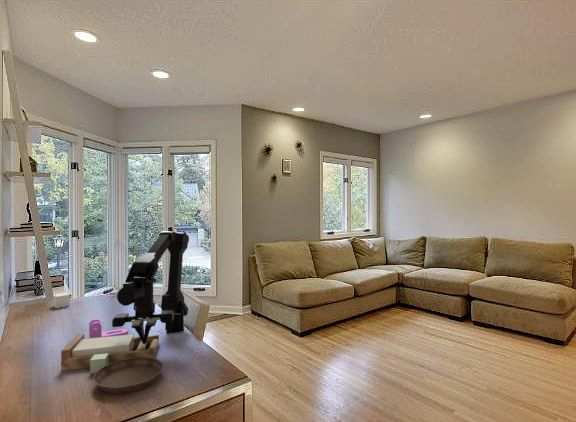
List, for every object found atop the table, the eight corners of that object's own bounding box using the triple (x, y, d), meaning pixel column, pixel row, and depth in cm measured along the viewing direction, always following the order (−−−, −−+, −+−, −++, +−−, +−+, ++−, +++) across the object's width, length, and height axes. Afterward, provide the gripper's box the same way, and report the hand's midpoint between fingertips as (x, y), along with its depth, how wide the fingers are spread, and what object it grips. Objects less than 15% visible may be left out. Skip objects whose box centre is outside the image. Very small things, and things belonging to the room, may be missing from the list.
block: (108, 366, 103) (108, 353, 103) (105, 372, 99) (105, 358, 99) (94, 367, 102) (94, 354, 102) (90, 373, 98) (90, 360, 98)
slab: (133, 341, 117) (133, 334, 117) (128, 352, 107) (128, 344, 107) (82, 346, 112) (82, 339, 112) (72, 358, 103) (72, 350, 103)
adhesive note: (52, 306, 171) (52, 294, 171) (66, 304, 175) (66, 292, 176) (55, 308, 167) (55, 296, 167) (69, 306, 171) (69, 294, 171)
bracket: (89, 342, 122) (89, 323, 123) (89, 338, 127) (89, 319, 127) (128, 335, 130) (128, 317, 130) (126, 331, 134) (126, 314, 134)
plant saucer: (174, 379, 95) (174, 368, 95) (108, 406, 82) (108, 393, 82) (145, 361, 107) (145, 352, 107) (83, 382, 94) (83, 371, 94)
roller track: (159, 343, 121) (159, 326, 121) (154, 360, 107) (154, 341, 107) (77, 351, 114) (77, 334, 114) (61, 370, 100) (61, 350, 100)
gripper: (175, 290, 123) (175, 332, 123) (120, 293, 119) (120, 337, 119) (172, 297, 112) (172, 344, 112) (111, 301, 108) (111, 350, 108)
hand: (144, 343), depth 113 cm, fingers closed
